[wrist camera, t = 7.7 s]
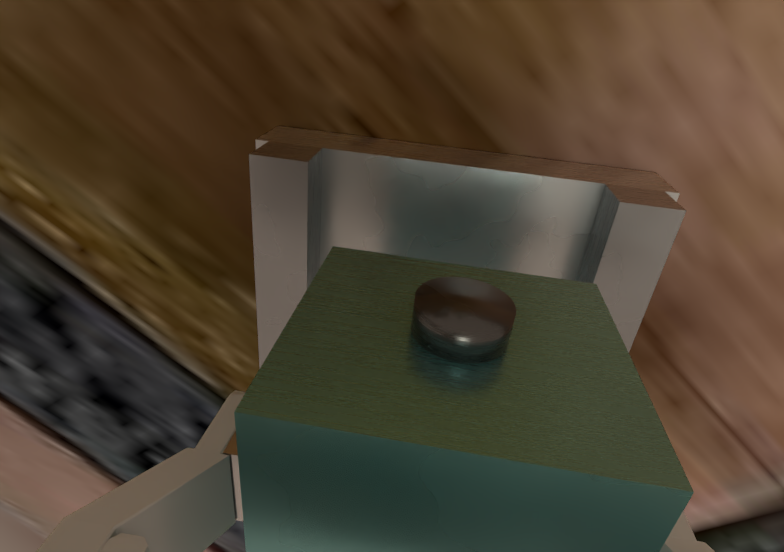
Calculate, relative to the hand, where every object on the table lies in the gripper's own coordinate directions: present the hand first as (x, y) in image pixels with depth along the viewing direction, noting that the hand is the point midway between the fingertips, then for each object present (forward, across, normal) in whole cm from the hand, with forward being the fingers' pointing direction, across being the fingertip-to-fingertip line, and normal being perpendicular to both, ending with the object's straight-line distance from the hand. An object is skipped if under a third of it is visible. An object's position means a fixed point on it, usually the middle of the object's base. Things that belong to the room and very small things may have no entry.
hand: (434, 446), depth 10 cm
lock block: (+2, 0, 0) cm, 2 cm away
